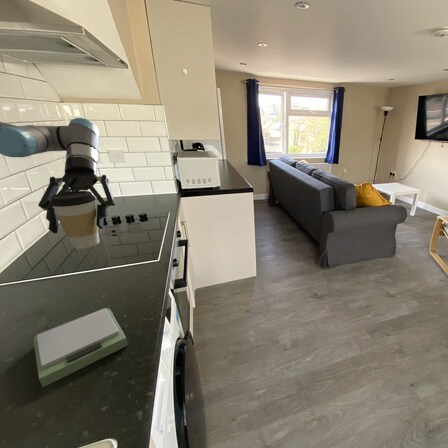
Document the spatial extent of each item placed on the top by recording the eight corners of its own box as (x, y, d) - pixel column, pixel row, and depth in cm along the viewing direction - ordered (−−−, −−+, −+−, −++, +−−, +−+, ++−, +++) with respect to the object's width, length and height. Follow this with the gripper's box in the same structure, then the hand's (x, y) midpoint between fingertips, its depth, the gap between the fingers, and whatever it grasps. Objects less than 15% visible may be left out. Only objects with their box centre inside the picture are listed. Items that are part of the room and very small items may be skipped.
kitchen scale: (36, 345, 62) (31, 335, 61) (111, 315, 72) (108, 305, 71) (42, 387, 52) (37, 376, 51) (128, 345, 62) (125, 334, 61)
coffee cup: (103, 234, 83) (90, 188, 78) (110, 244, 77) (97, 195, 72) (62, 243, 77) (46, 193, 71) (67, 255, 70) (49, 201, 65)
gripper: (127, 169, 87) (127, 229, 79) (42, 171, 80) (33, 239, 72) (120, 154, 81) (119, 219, 73) (27, 156, 73) (14, 228, 65)
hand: (77, 229), depth 72 cm, fingers closed on coffee cup, 10 cm apart
